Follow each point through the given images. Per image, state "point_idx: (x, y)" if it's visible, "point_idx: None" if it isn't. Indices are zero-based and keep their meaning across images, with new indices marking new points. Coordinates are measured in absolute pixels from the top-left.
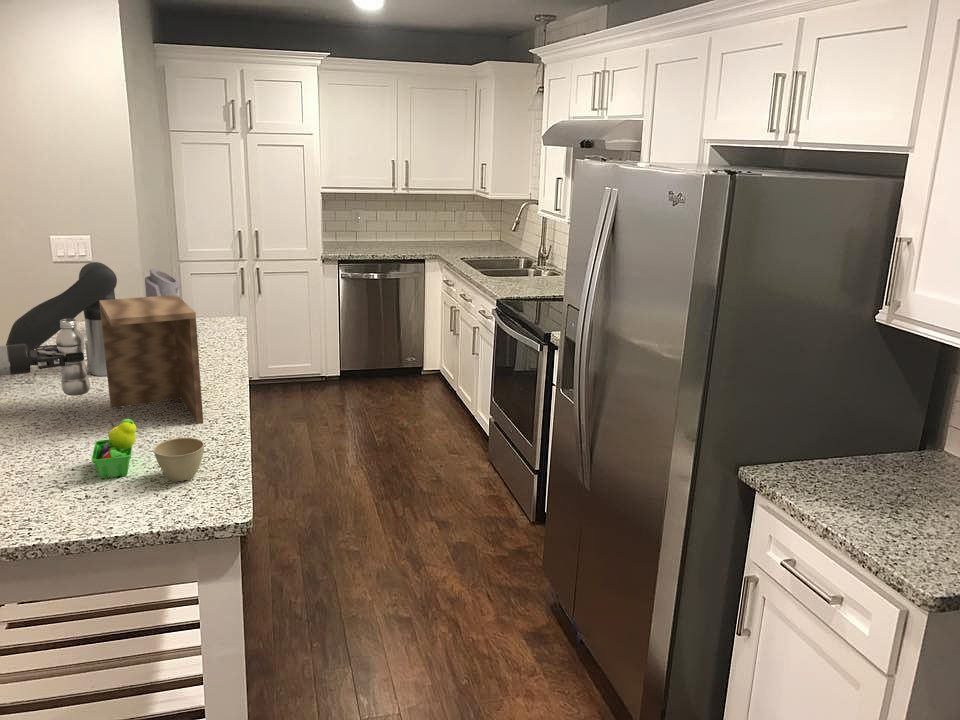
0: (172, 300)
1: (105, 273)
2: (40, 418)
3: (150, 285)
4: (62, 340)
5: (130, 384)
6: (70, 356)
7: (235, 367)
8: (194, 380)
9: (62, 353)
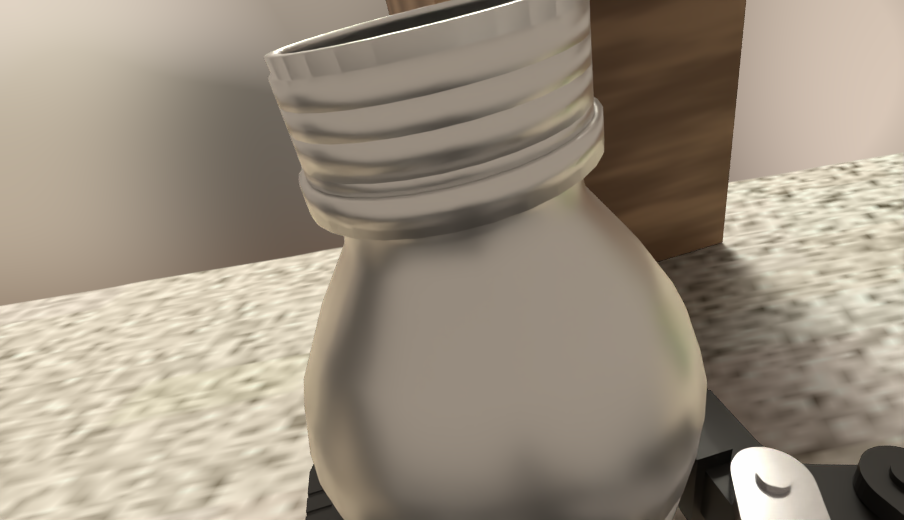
0: None
1: None
2: None
3: None
4: (691, 360)
5: None
6: (740, 425)
7: (256, 268)
8: (734, 108)
9: (739, 506)
